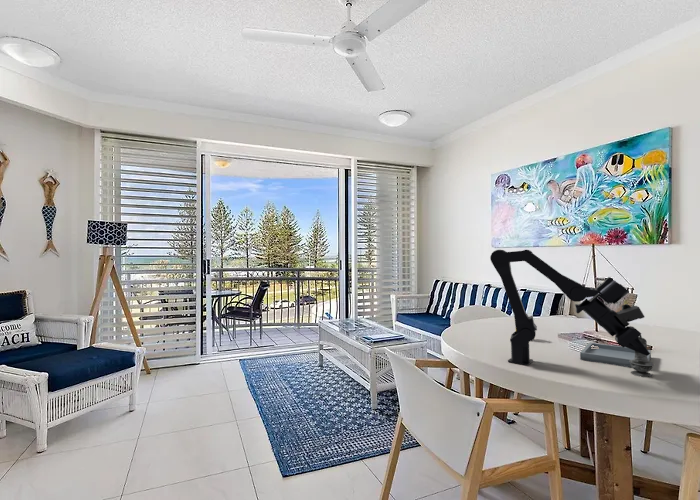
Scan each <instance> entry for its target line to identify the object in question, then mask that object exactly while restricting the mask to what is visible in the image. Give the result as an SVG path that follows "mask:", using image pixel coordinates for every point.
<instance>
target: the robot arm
mask: <svg viewBox="0 0 700 500" xmlns="http://www.w3.org/2000/svg"><path fill="white" fill-rule="evenodd" d="M489 258H490V262H491V264H492V265H493V268H494V269H495V271H496V272H497V274H498V276H500V279H501V282H502V284H503V288H504V291H505V293H506V296H507V299H508V301H509V304H510V308H511V311H512V313H513V317H514V324H515V325H514V326H515V331H514V332H513V333H511V336H510V340H509V341H510V353H511V355H510V357H511V358H509V359H507V362H508V363H512V364H513V363H514V364H518V365H523V366H528V365H530V364H531V363H533V362H534V359H532V358H530V342H532V341H533V340H534V339H535V338H536V335H537V334H536V333H537V331H538V328H537V327H538V326H537V324H536V323H535V319H534V315H530V316H529V315H528V313H527V312H526V310H525V307H524V305H523V304H524V303H523V302H522V299H521V296H520V292H519V290H518V287H517V285H516V283H515V282H516V281H515V278H514V276H513V274H512V265H511V263H514V262H515V263H516V262H525V263H526V264H527V265H530V266H531V267H532V268H534V269H535V270H536V271H538V272H539V273H540V274H542V275H543V276H544V277H545V278H547V279H548V280H549V281H551V282H552V283H554V284H555V286H557V287H558V289H560V291H561V292H562V293H563V294H564V295H565V296H566V297H567V299H569V300H570V301H572V302H576V303H575V304H574V307H575V313H576V314H580V313H581V312H582V311H583V312H584V313H585V314H587V315H588V316H589V317H590V318H591V319H592V320H594V322H596V324H597V325H599V326H600V327H601V328H603V329H604V330H605V331H606V332H607V333H608V334H609V335H610V336H611V337H614V340H615V342H616V343H617V344H618V345H619V346H622V347H627V348H629V349H632V350H634V351H637V352H639V353H641V354H644V355H646V356H648V355H649V354H650V353H649V351H648V350H649V349H648V348H647V349H646V348H645V346H644V345H643V344H642V343H641V341H640V340H639V337H640V335H641V336H642V333H641V332H640V331H639V330H638V329H637V328H636V327H634V326H631V325H630V323H629V322H633V321H637V320H639V319H640V320H641V319H644V318H645V314H644V313H643V311H642V310H641V308H640V307H639V306H638V305H632V306H631V305H629V304H628V303H625V304H622V305H621V309H619V311H615V310H614V309H611V308H610V307H609V306H607V305H609V304H613V305H615V304H616V303H618V302H619V301H620V300H622V299H623V298H624V297H626V296H627V295H628V294H629V293H630V291H629V290H628V289H627V288H626V287H625V286H624V285H622V284H621V283H619V282H617V281H616V280H615V279H613V278H612V277H611V276H608V277H607V278H606V279H604V281H603V282H602V283H600V284H599V285H598V286H596V288H595V287H588V286H584V285H582V284H581V283H579V282H578V281H575V280H573V279H571V278H570V277H567V276H565V275H564V274H562V273H560V272H559V271H558V270H556V269H555V268H553V267H552V266H551V265H549V264H548V263H547V262H545V261H544V260H543V259H541V258H540V257H539V256H537V255H535V254H534V253H533V252H532V250H530V249H524V250H516V251H515V250H514V251H506V250H504V249H496V250H494V251H493V252H492V253H491V255H490V257H489ZM588 298H590V299H588ZM599 298H600V299H602V300H600V299H599ZM578 302H580V303H578ZM604 302H605V303H606V304H607V305H606V304H605V303H604Z"/></svg>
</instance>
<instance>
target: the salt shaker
mask: <svg viewBox="0 0 700 500" xmlns="http://www.w3.org/2000/svg"><path fill="white" fill-rule="evenodd" d="M639 340H640V341H641V343H642V344H643V345H644V346H645V348H646V349H647V350H648V348H647V347H648V346H647V343H648V342H647V339H645V338H644V337H642V334H641V335H640V336H639ZM629 362H630V365H631V367H632V368H631V369H633V370H631V371H630V374H631V375H634V376H635V377H640V376H641V378H653V377H654V376H653V375H654V374H652V373H650V372H651V371H652V369H653V367H654V363H653V362H651V361H650V362H649V361H648V358H647V356H646V355H644V354H641V353H639V352H637V351H635V357H634V359H633V360H629ZM652 376H653V377H652Z"/></svg>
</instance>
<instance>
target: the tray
mask: <svg viewBox="0 0 700 500" xmlns="http://www.w3.org/2000/svg"><path fill="white" fill-rule="evenodd" d="M592 345H594V346H598V347H599V349H591V346H592ZM647 350H648V351H649V353H650V354H649V355H648V356H647V358H648V361H649V362H651V358H652V356H651V354H652V351H651V349H647ZM579 356H580V357H579V359H580V360H581V361H586V362H591V363H600V364H604V365H605V364H606V365H610V366H611V365H613V366H618V367H619V366H620V367H625V368H629V369H630V368H631V369H633V368H632V367H631V365H630V362H629V360H633V359H634V357H635V351H634V350H632V349H629V348H627V347H622V346H621V345H612V344H605V343H597V342H596V343H595V342H588V344H587V345H586V346H584V348H583V349H582V350H581V351H580V352H579Z"/></svg>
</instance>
